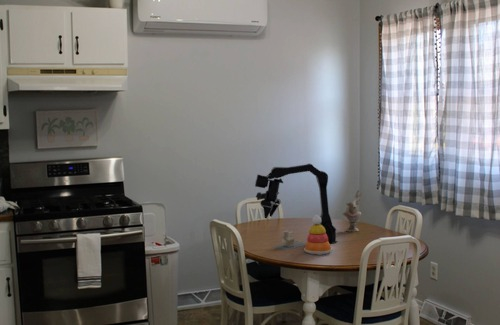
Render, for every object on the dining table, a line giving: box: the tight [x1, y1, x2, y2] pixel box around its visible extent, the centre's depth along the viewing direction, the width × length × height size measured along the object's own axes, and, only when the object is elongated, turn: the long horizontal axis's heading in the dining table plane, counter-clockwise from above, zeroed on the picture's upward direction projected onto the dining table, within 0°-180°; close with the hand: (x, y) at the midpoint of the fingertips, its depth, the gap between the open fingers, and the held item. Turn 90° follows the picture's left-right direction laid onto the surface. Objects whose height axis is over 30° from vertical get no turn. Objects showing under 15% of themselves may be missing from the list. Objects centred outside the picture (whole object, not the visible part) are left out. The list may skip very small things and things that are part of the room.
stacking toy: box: [303, 214, 333, 256], centre depth 282 cm, size 14×14×20 cm
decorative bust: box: [342, 190, 363, 232], centre depth 334 cm, size 11×13×25 cm
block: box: [282, 230, 295, 248], centre depth 295 cm, size 5×4×8 cm
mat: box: [272, 240, 307, 251], centre depth 297 cm, size 10×20×1 cm, turn 133°
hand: (268, 217), depth 302 cm, fingers open, 9 cm apart
